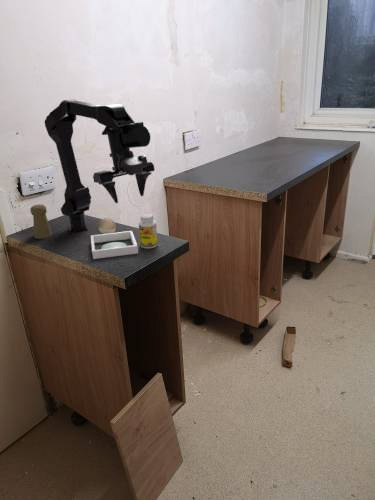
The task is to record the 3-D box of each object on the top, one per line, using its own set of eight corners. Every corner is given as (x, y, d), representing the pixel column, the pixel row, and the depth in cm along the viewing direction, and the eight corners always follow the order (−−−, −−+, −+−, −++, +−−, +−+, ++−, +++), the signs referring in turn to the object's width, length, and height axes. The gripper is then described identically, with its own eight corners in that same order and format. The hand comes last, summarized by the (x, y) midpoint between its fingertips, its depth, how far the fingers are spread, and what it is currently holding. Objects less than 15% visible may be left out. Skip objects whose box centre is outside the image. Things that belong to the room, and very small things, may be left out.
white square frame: (91, 242, 132) (90, 235, 131) (132, 237, 135) (131, 230, 134) (93, 259, 120) (92, 251, 119) (138, 253, 122) (137, 245, 121)
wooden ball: (99, 233, 140) (96, 216, 137) (116, 231, 141) (114, 214, 138) (99, 239, 134) (97, 222, 132) (117, 237, 136) (115, 220, 133)
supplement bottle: (136, 247, 127) (134, 217, 123) (146, 241, 131) (144, 211, 127) (151, 250, 124) (149, 219, 120) (161, 244, 129) (159, 214, 125)
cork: (46, 231, 143) (40, 201, 138) (55, 234, 139) (50, 204, 135) (30, 236, 139) (24, 206, 134) (40, 240, 135) (34, 209, 131)
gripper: (104, 154, 108) (115, 209, 113) (160, 143, 118) (168, 194, 123) (87, 154, 117) (98, 205, 122) (141, 144, 127) (149, 191, 132)
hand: (129, 199), depth 125 cm, fingers open, 9 cm apart
